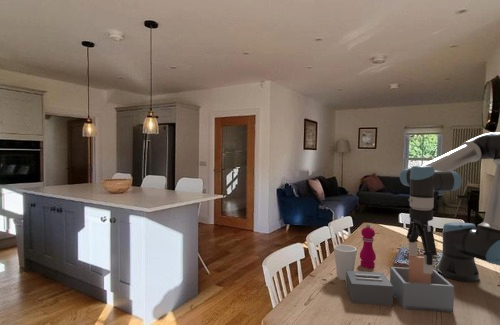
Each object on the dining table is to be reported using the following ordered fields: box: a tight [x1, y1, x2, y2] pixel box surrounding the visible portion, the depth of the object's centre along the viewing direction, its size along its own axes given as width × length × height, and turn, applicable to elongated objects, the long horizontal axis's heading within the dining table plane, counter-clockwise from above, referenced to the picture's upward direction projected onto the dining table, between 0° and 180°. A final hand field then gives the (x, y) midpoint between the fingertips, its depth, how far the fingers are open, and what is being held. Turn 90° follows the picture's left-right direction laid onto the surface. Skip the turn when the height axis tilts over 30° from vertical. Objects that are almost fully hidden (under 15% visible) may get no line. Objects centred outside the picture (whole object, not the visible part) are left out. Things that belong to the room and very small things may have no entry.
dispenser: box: [345, 270, 394, 306], centre depth 113 cm, size 14×12×8 cm
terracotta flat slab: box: [408, 255, 431, 284], centre depth 110 cm, size 7×2×15 cm, turn 81°
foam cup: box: [333, 244, 358, 282], centre depth 130 cm, size 10×9×13 cm
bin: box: [389, 266, 455, 313], centre depth 110 cm, size 16×15×9 cm
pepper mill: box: [359, 224, 377, 269], centre depth 143 cm, size 7×7×20 cm
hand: (419, 265), depth 110 cm, fingers open, 13 cm apart
